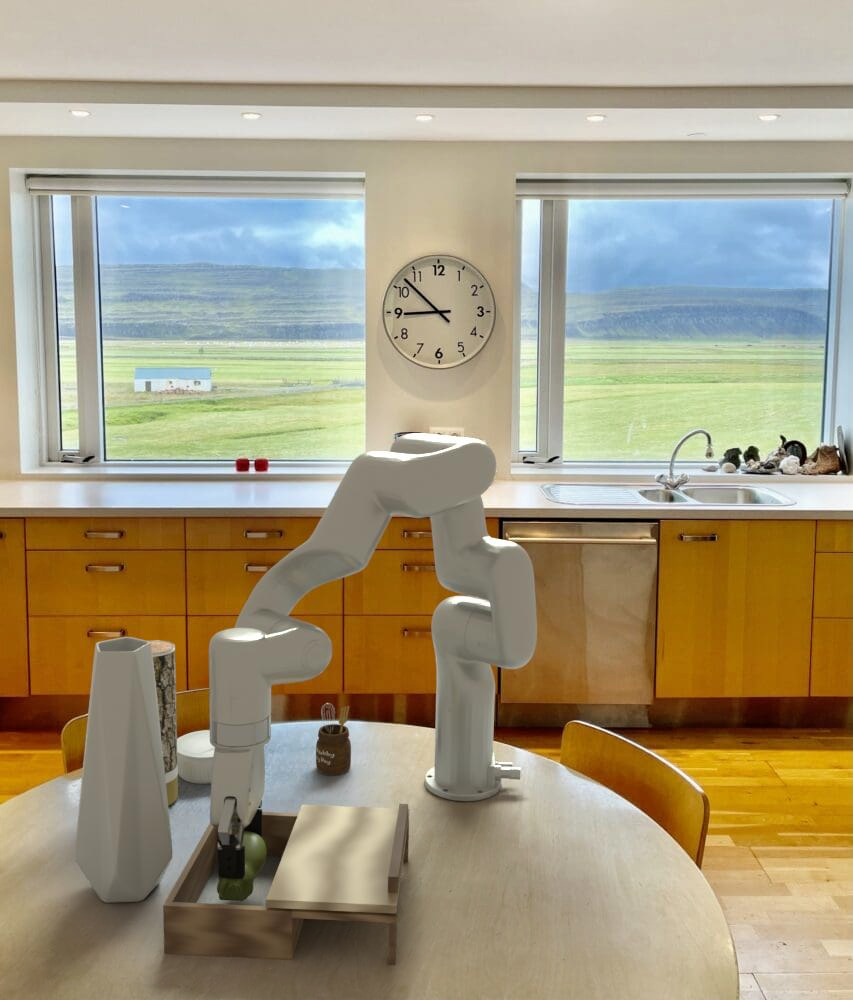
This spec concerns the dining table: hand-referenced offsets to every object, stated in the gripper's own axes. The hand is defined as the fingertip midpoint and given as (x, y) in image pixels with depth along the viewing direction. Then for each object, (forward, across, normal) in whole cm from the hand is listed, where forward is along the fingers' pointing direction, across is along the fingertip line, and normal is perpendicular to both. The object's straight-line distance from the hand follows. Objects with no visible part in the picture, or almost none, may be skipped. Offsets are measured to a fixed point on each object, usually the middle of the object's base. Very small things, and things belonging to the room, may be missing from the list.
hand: (241, 856), depth 117 cm
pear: (+4, 0, 0) cm, 4 cm away
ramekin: (+6, -36, -15) cm, 39 cm away
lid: (-1, 0, +13) cm, 13 cm away
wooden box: (+6, 0, +7) cm, 9 cm away
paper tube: (+6, -25, -20) cm, 33 cm away
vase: (+6, -1, -16) cm, 17 cm away
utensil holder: (+6, -39, +6) cm, 40 cm away
